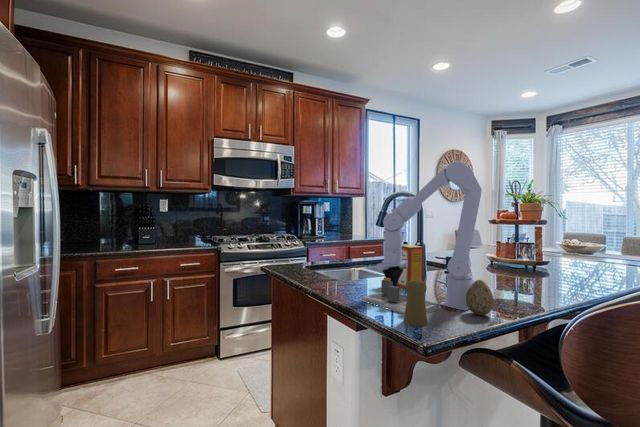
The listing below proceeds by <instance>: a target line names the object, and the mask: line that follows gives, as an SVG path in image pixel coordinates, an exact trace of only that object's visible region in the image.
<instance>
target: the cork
mask: <svg viewBox="0 0 640 427" xmlns="http://www.w3.org/2000/svg"><path fill="white" fill-rule="evenodd" d="M405 290H406V293H407V292H408V296H407V295H406V296H407V303H406V309H405V314H404V317H403V323H404V322H405V323H404V324H405V325H408V324H409V325H408V326H411V325H413V326H412V327H425V326H427V325H428V316H427V315H428V314H426V306H425V301H426V299H425V298H426V297H425V294H426V292H427V290H428V289H427V283H426V282H425V281H424V280H423V281H420V280H410V281H408V282H407V284H406V289H405Z"/></svg>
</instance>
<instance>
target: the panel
mask: <svg viewBox="0 0 640 427" xmlns="http://www.w3.org/2000/svg"><path fill="white" fill-rule="evenodd" d="M362 300H364V301H366V302H369V303H372V304H375V305H378V306H377V307H379V306H381V307H380V308H382V307H384V308H383V309H386V308H388V309H387V310H389V309H390V311H393V312H396V311H397V313H399V312H400V314H403V313H404V314H403V315H405V309H406V303H407V295H402V294H400V301H399V302H392V301H388V300H387V294H385V293H381V291H380V292H377V293H372V294H369V295H363V296H361V301H362ZM372 304H371V305H372ZM375 305H374V306H375ZM425 306H426V314H427V315H428V314H430V313H433V312H435V311H438V310H440V303H437V302H431V301H428V300H425Z"/></svg>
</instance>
